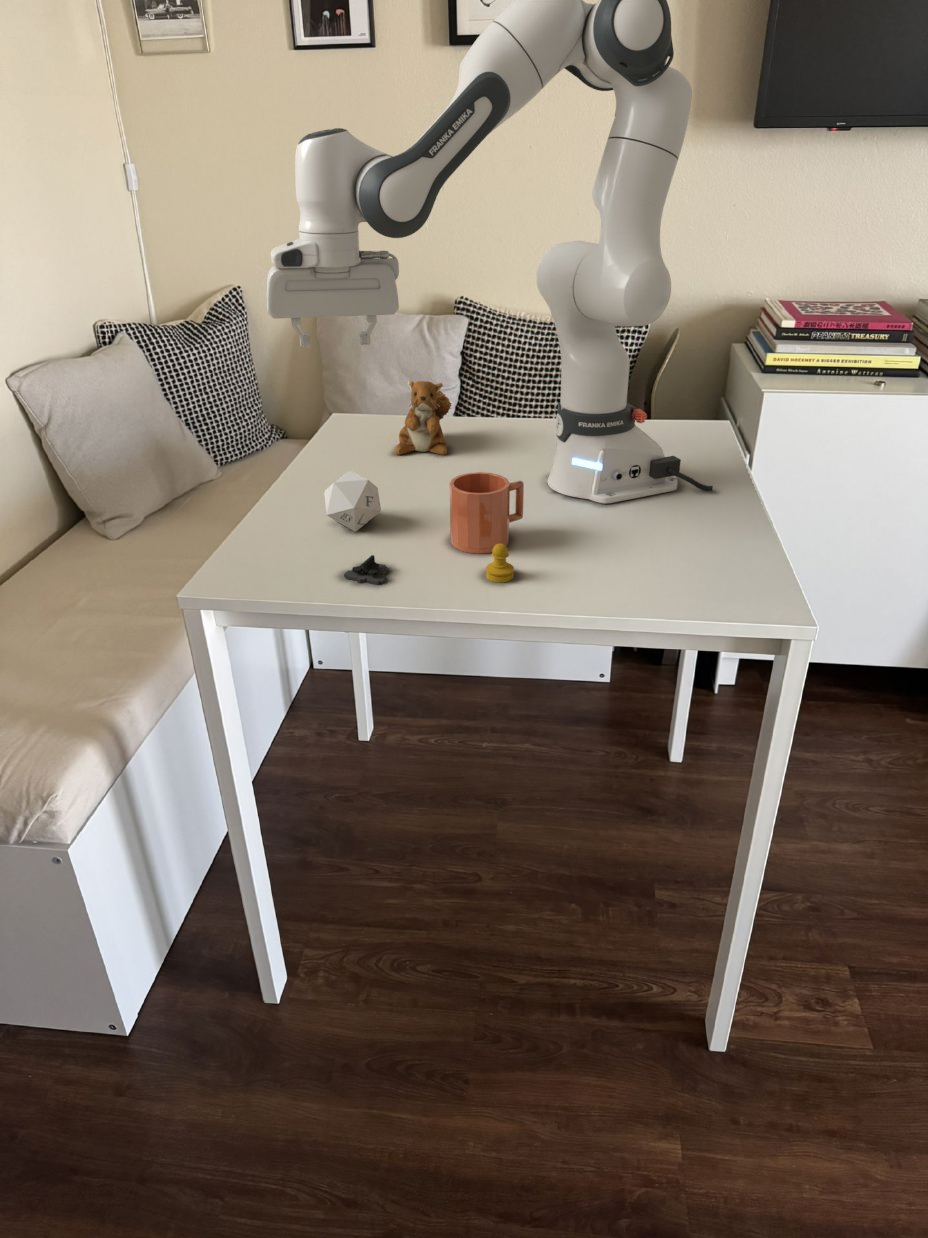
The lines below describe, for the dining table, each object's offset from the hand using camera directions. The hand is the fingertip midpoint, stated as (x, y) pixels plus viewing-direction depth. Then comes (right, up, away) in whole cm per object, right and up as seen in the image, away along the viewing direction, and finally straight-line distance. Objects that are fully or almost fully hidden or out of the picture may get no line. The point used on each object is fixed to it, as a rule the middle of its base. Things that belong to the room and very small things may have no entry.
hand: (335, 345), depth 142 cm
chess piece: (+25, -37, -14) cm, 47 cm away
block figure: (+7, -37, -13) cm, 40 cm away
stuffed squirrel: (+13, -9, +34) cm, 37 cm away
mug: (+24, -31, -3) cm, 39 cm away
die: (+3, -28, +2) cm, 28 cm away
